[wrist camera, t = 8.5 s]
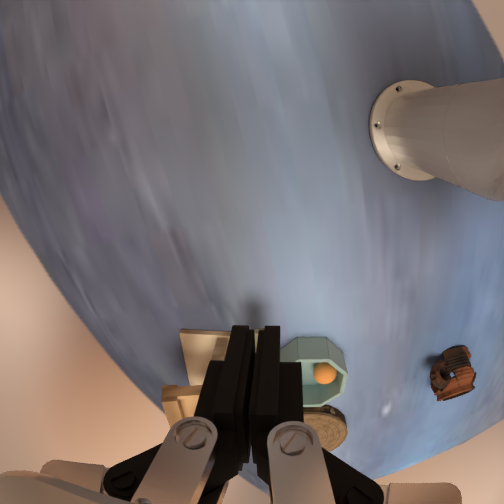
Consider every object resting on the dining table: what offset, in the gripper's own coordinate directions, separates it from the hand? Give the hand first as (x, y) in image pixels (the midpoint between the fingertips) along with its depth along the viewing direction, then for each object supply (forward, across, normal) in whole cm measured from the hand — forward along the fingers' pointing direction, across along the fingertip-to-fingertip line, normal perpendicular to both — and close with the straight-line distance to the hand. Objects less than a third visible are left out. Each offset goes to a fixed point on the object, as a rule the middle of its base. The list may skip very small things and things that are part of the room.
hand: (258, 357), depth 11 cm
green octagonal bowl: (+29, -5, +27) cm, 40 cm away
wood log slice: (+29, -5, +45) cm, 54 cm away
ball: (+26, -7, +27) cm, 38 cm away
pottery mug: (+29, -30, +30) cm, 52 cm away
